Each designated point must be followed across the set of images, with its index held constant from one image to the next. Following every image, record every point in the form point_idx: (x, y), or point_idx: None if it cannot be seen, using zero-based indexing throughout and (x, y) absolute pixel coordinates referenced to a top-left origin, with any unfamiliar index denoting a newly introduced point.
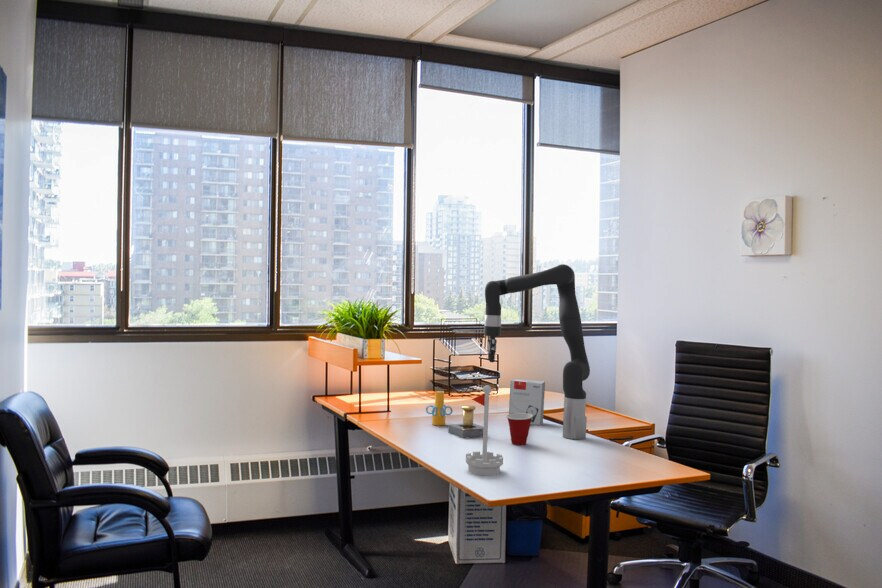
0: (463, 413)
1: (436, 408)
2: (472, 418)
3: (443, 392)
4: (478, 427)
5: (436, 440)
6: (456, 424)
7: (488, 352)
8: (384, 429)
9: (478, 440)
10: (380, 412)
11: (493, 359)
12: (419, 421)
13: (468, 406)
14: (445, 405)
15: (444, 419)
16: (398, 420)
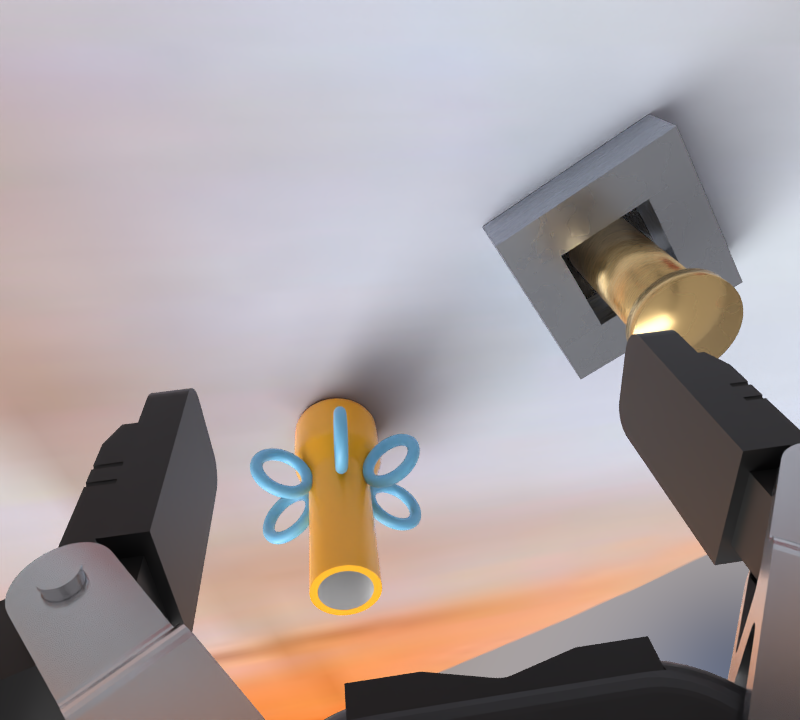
0: None
1: (382, 509)
2: (672, 257)
3: (363, 565)
4: (659, 191)
5: (758, 384)
6: (572, 337)
7: (191, 628)
8: (528, 608)
9: (771, 166)
10: None
11: (737, 379)
12: (282, 525)
13: (684, 329)
14: (263, 478)
15: (354, 419)
16: (294, 605)
